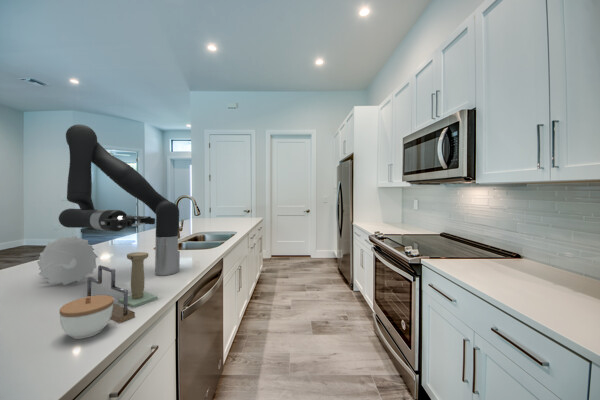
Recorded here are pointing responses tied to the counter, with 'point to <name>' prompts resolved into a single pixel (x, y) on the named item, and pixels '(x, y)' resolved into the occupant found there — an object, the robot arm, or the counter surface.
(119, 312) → the bent wire
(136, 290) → the handle
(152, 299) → the green pad
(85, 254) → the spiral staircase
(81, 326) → the lidded jar
